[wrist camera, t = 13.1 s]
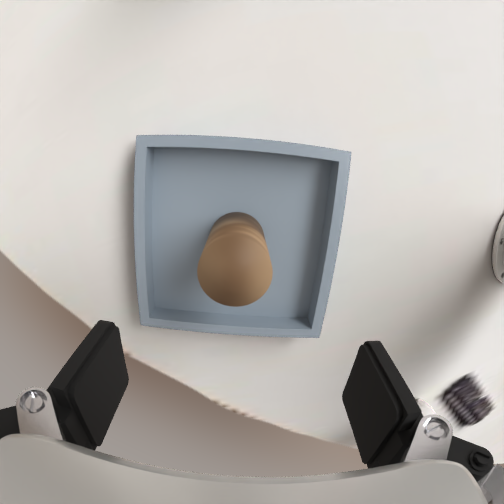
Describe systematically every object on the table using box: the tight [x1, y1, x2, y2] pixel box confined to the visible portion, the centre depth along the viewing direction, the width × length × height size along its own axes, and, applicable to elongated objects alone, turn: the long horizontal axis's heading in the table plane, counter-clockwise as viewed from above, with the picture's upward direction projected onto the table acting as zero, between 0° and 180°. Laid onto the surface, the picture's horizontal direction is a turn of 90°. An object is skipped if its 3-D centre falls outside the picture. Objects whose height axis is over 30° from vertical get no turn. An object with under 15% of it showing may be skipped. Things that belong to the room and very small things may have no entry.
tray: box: [134, 135, 351, 338], centre depth 26 cm, size 18×18×3 cm
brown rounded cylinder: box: [197, 212, 273, 307], centre depth 23 cm, size 5×5×8 cm
